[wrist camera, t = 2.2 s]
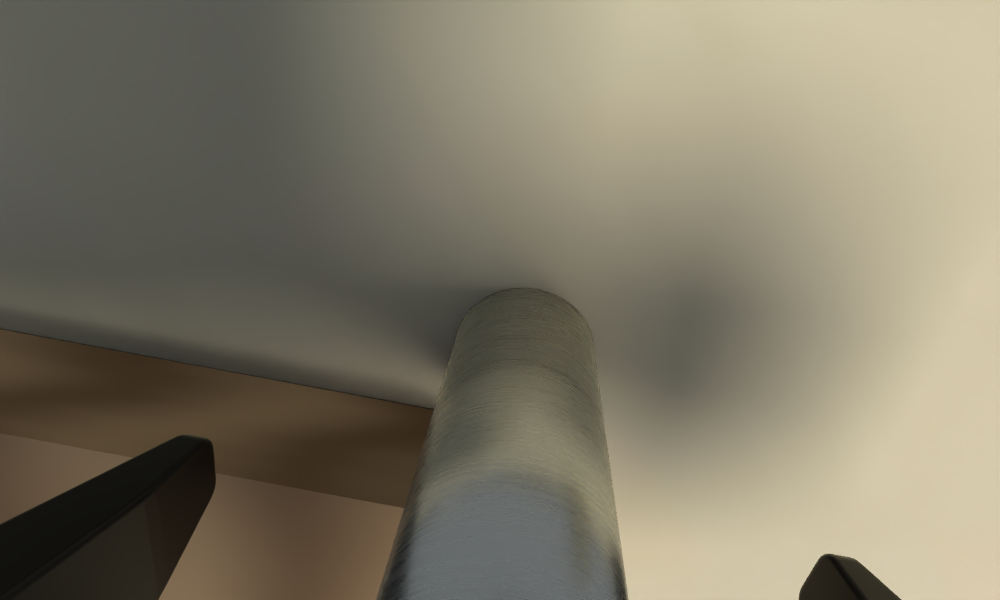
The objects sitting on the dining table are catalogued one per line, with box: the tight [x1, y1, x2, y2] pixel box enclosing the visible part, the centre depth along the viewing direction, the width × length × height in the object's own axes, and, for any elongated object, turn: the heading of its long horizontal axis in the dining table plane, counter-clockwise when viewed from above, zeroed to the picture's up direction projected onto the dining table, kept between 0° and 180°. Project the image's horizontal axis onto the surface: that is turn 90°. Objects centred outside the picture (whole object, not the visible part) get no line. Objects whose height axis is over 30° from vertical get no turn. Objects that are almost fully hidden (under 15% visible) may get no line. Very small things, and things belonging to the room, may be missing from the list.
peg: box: [376, 288, 628, 600], centre depth 9 cm, size 3×3×8 cm
